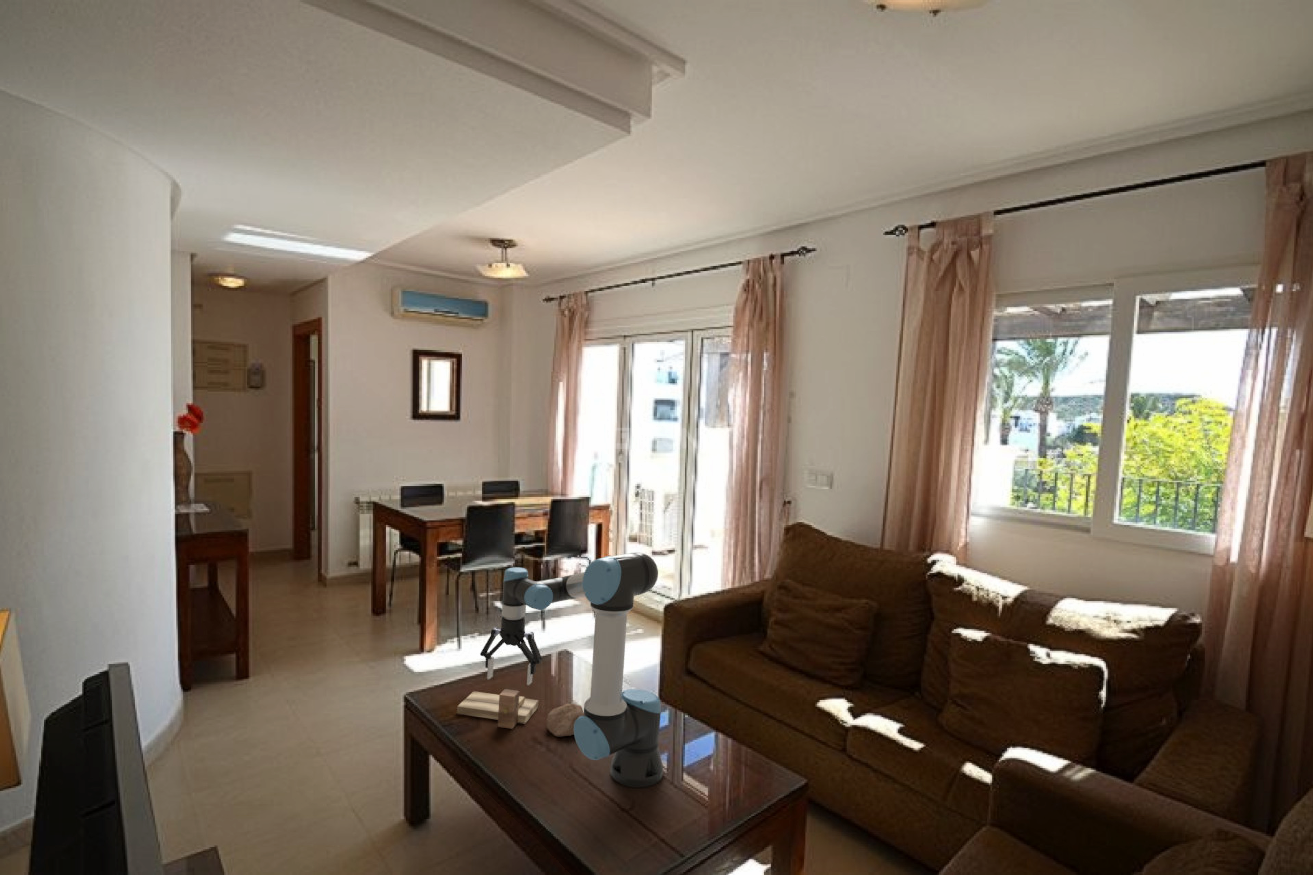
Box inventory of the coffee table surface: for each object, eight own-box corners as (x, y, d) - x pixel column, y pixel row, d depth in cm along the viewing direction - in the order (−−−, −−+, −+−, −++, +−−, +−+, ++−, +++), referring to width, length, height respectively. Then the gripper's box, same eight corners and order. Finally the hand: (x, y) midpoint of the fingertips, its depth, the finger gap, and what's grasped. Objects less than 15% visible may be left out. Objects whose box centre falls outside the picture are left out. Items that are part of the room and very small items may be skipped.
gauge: (511, 729, 202) (513, 697, 202) (497, 727, 203) (498, 695, 202) (528, 709, 216) (530, 678, 216) (514, 707, 217) (516, 677, 217)
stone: (587, 736, 205) (587, 703, 210) (583, 734, 197) (583, 699, 202) (549, 739, 205) (549, 706, 210) (543, 737, 197) (544, 702, 202)
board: (525, 723, 207) (525, 715, 207) (457, 713, 211) (457, 706, 211) (538, 707, 218) (538, 700, 218) (473, 698, 222) (473, 691, 222)
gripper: (554, 617, 206) (550, 680, 206) (482, 608, 210) (478, 670, 210) (546, 624, 198) (542, 690, 199) (472, 614, 202) (468, 679, 203)
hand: (509, 680), depth 205 cm, fingers open, 13 cm apart
